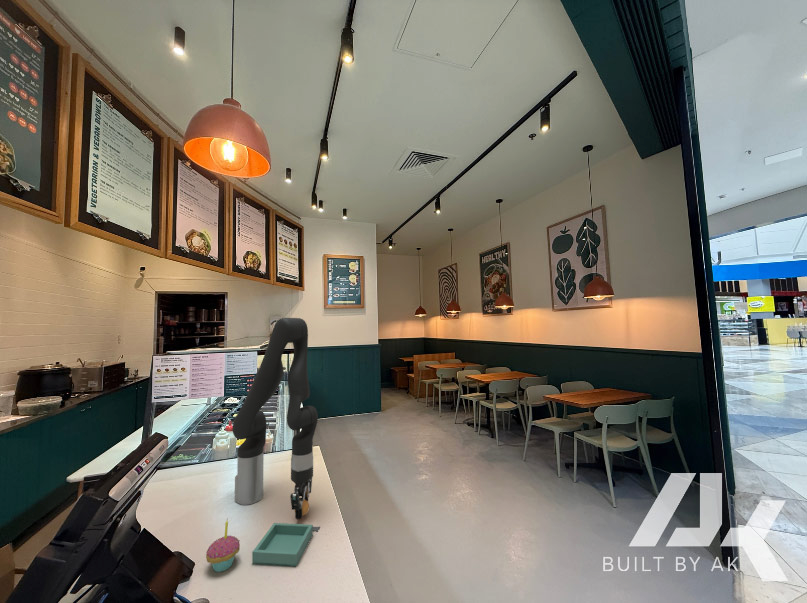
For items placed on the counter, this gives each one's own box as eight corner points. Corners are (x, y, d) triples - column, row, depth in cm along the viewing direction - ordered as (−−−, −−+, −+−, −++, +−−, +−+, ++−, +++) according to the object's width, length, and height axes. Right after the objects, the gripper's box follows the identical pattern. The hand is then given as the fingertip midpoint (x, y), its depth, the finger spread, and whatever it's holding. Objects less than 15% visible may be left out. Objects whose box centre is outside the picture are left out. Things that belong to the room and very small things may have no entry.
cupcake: (215, 555, 97) (215, 514, 98) (244, 553, 98) (245, 512, 99) (199, 579, 89) (200, 533, 89) (232, 576, 90) (232, 531, 90)
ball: (291, 518, 113) (292, 504, 113) (297, 510, 118) (297, 495, 118) (305, 519, 113) (306, 504, 113) (311, 510, 117) (311, 496, 118)
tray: (252, 564, 94) (252, 551, 94) (274, 533, 107) (274, 522, 107) (296, 567, 93) (296, 554, 93) (312, 535, 106) (312, 524, 106)
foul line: (274, 529, 109) (274, 528, 109) (276, 525, 111) (276, 524, 111) (318, 531, 108) (317, 530, 108) (320, 527, 110) (320, 526, 110)
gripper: (300, 455, 123) (299, 501, 123) (282, 474, 109) (282, 526, 108) (319, 456, 122) (319, 502, 122) (304, 475, 108) (304, 527, 108)
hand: (301, 513), depth 115 cm, fingers closed on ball, 5 cm apart
